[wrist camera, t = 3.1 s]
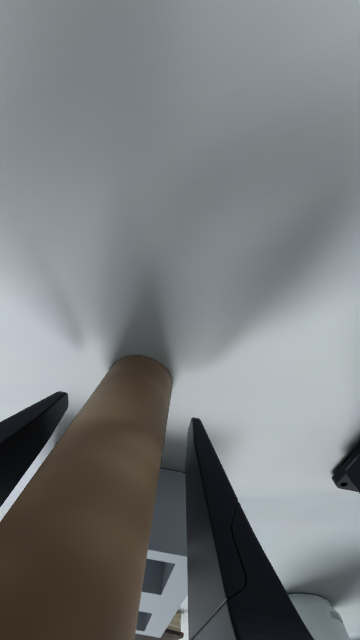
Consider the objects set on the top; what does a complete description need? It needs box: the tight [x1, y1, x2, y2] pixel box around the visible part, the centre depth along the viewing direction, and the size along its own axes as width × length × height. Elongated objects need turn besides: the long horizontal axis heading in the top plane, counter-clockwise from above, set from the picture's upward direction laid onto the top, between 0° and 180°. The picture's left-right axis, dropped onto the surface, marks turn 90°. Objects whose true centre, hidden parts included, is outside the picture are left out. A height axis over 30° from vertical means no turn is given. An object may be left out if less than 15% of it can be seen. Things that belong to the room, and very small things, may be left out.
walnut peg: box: [0, 355, 172, 640], centre depth 7 cm, size 4×4×8 cm
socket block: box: [136, 468, 188, 638], centre depth 15 cm, size 12×18×4 cm, turn 169°
